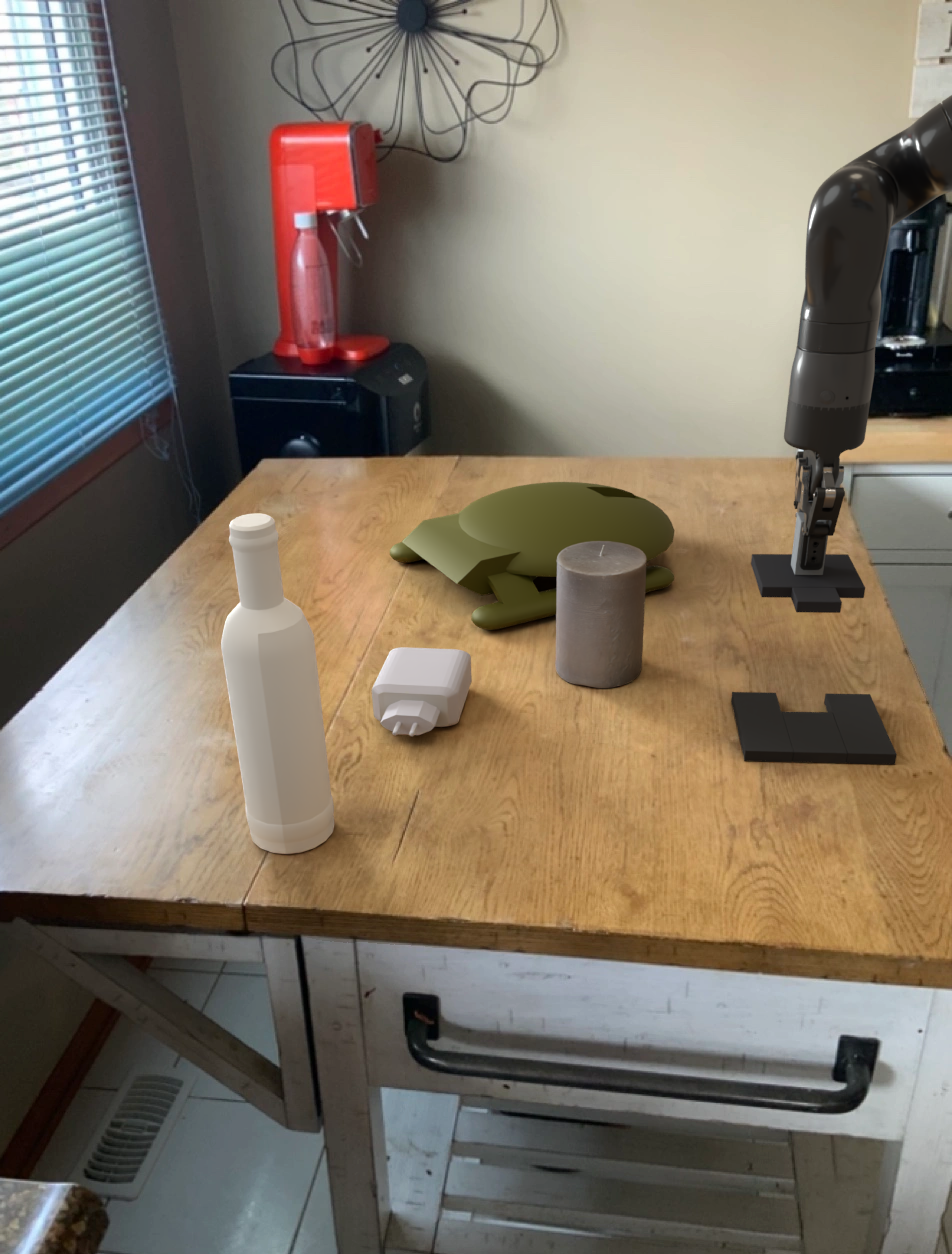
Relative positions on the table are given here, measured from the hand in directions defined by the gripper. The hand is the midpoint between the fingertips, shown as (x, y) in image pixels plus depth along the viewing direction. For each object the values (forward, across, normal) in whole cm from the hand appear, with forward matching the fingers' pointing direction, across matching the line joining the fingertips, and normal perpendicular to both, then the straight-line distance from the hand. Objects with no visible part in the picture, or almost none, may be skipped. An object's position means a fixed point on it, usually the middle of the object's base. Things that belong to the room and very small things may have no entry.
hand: (807, 561), depth 117 cm
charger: (+14, -11, +40) cm, 44 cm away
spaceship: (+14, +31, +28) cm, 45 cm away
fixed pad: (+14, -12, 0) cm, 18 cm away
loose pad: (+2, -2, 0) cm, 3 cm away
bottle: (+14, -32, +49) cm, 60 cm away
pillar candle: (+14, +1, +21) cm, 25 cm away
